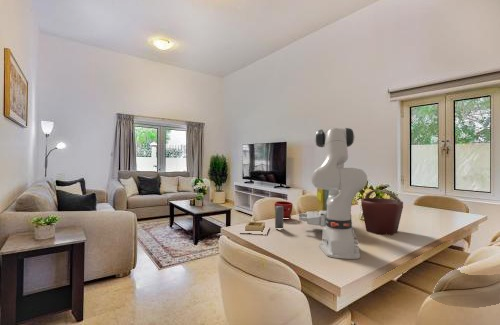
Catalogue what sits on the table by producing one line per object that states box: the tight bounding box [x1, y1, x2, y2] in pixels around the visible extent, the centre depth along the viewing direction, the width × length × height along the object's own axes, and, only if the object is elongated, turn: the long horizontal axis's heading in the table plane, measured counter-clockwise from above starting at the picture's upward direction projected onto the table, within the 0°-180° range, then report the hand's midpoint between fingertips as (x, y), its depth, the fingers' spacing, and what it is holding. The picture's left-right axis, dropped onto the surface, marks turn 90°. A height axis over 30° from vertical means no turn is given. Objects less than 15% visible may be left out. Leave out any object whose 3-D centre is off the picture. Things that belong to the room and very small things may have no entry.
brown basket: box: [360, 189, 404, 236], centre depth 150 cm, size 24×22×25 cm
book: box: [316, 188, 328, 212], centre depth 174 cm, size 17×7×25 cm, turn 179°
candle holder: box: [244, 221, 266, 232], centre depth 151 cm, size 16×16×4 cm
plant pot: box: [274, 200, 293, 219], centre depth 183 cm, size 13×13×12 cm
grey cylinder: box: [274, 205, 284, 229], centre depth 155 cm, size 5×5×14 cm
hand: (298, 216), depth 152 cm, fingers open, 8 cm apart
